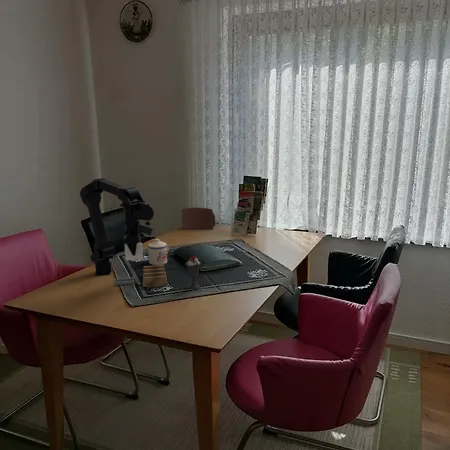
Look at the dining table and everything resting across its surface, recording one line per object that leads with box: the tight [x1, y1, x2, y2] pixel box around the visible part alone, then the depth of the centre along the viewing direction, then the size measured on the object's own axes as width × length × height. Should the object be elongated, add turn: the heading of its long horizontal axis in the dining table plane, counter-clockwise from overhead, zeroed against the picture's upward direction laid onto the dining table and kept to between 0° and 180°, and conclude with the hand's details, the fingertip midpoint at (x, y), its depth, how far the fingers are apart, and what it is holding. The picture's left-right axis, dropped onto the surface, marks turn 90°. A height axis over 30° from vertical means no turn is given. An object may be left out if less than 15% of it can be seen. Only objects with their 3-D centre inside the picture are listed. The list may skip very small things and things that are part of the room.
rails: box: [114, 277, 136, 286], centre depth 180 cm, size 8×5×1 cm, turn 101°
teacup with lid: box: [147, 238, 169, 266], centre depth 206 cm, size 12×9×12 cm
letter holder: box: [181, 207, 216, 231], centre depth 272 cm, size 10×20×14 cm, turn 82°
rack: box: [142, 264, 169, 288], centre depth 182 cm, size 10×15×4 cm, turn 11°
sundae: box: [184, 254, 202, 290], centre depth 173 cm, size 7×7×15 cm
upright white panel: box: [124, 242, 144, 261], centre depth 178 cm, size 7×2×6 cm, turn 100°
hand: (134, 254), depth 178 cm, fingers closed on upright white panel, 2 cm apart
